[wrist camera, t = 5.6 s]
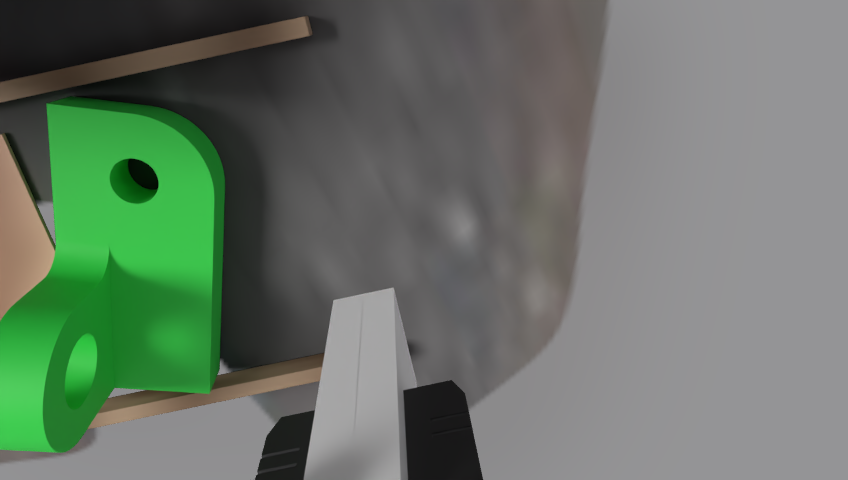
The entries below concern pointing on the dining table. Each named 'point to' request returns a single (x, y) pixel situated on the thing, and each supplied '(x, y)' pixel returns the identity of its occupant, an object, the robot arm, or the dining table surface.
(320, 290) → the dining table surface
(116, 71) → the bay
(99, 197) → the mechanical part
